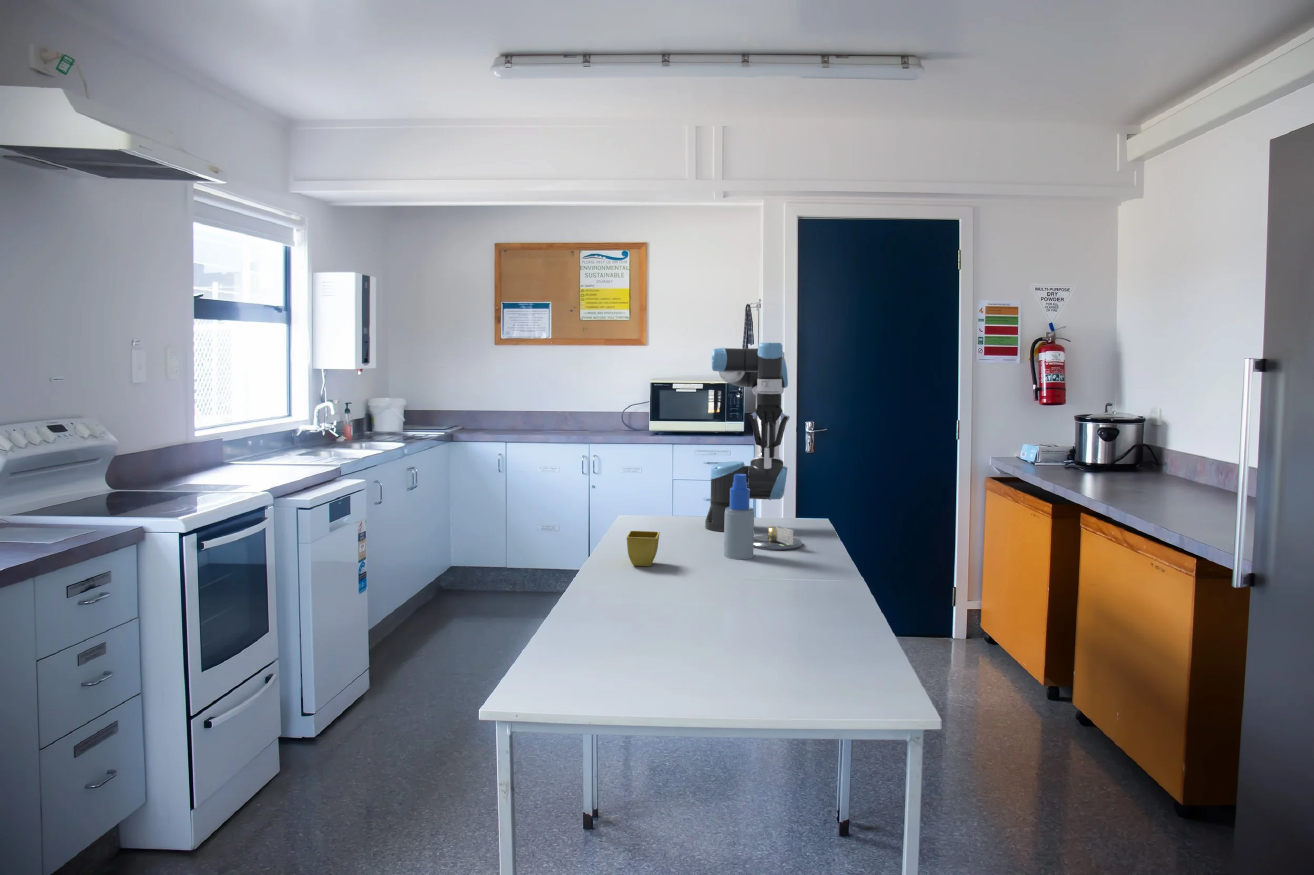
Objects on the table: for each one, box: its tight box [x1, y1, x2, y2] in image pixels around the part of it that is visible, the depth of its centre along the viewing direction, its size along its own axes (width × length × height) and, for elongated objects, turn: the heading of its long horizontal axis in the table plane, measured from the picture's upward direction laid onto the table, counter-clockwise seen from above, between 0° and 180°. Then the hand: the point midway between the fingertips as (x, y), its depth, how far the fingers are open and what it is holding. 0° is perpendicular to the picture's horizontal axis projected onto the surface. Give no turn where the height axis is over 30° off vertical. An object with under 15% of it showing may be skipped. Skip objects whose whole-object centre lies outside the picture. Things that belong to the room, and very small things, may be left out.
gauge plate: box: [753, 534, 802, 552], centre depth 261 cm, size 17×17×1 cm
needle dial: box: [767, 525, 794, 545], centre depth 258 cm, size 11×4×5 cm, turn 27°
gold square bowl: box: [626, 530, 661, 567], centre depth 234 cm, size 9×9×9 cm
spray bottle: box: [723, 474, 755, 560], centre depth 245 cm, size 9×9×25 cm
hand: (767, 468), depth 252 cm, fingers closed
